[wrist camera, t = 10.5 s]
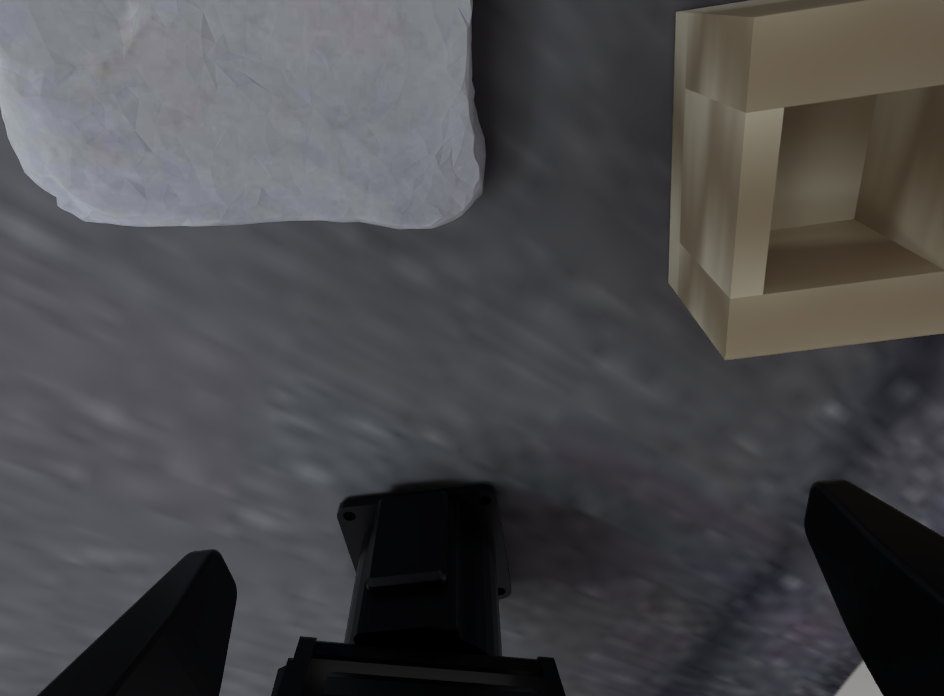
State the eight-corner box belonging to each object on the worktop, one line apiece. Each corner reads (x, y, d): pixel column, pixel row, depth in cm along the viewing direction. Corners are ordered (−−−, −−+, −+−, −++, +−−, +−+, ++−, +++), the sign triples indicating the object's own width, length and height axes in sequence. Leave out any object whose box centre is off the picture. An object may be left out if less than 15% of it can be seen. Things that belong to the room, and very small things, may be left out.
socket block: (1041, 234, 20) (1205, 300, 15) (668, 282, 20) (724, 360, 16) (1144, -60, 16) (1402, -81, 11) (676, 11, 16) (754, 17, 12)
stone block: (25, -179, 16) (99, 215, 19) (-141, -312, 11) (-8, 237, 14) (485, -164, 16) (482, 214, 20) (505, -284, 12) (496, 235, 15)
